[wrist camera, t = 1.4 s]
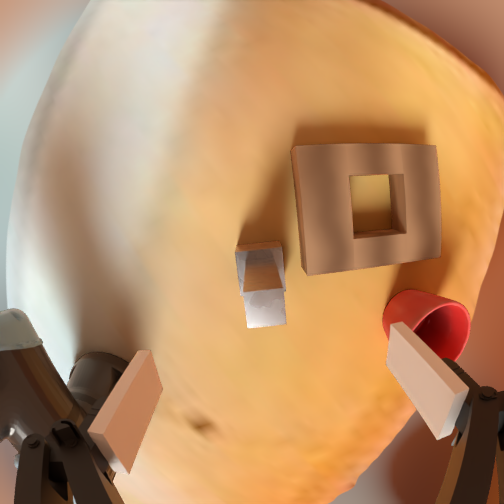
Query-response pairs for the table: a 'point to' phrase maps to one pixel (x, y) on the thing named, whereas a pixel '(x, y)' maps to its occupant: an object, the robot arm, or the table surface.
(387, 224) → the table surface
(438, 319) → the flower pot
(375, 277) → the table surface
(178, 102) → the table surface
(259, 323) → the grey stepped bar
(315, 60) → the table surface
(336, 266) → the well block
